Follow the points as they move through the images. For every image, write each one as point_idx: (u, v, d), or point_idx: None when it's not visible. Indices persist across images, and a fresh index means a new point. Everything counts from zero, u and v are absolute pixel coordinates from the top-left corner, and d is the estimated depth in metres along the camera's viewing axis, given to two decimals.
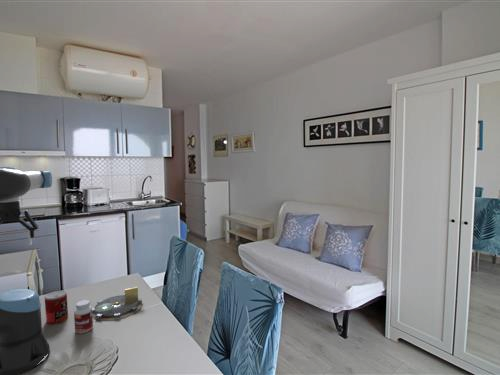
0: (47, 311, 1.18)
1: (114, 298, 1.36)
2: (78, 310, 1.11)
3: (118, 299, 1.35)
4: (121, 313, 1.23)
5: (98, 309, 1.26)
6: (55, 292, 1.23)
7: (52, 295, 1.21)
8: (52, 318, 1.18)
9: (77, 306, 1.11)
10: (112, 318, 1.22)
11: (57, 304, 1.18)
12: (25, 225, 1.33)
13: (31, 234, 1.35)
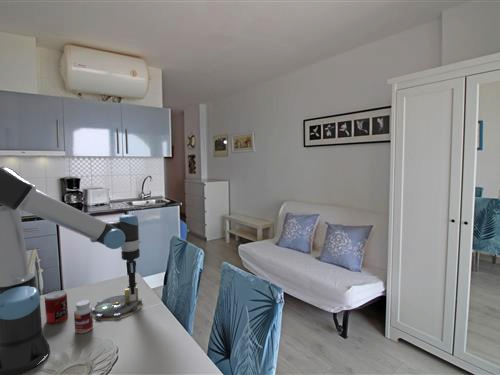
0: (47, 311, 1.18)
1: (114, 298, 1.36)
2: (78, 310, 1.11)
3: (118, 299, 1.35)
4: (121, 313, 1.23)
5: (98, 309, 1.26)
6: (55, 292, 1.23)
7: (52, 295, 1.21)
8: (52, 318, 1.18)
9: (77, 306, 1.11)
10: (112, 318, 1.22)
11: (57, 304, 1.18)
12: None
13: (130, 290, 1.29)
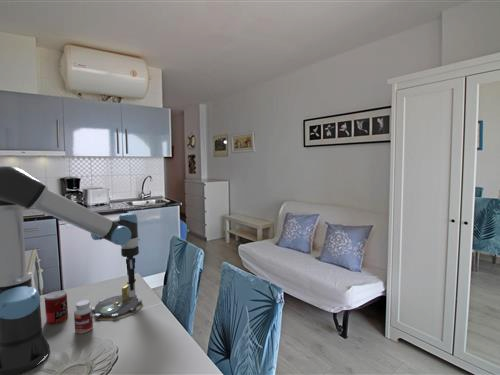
0: (47, 311, 1.18)
1: (105, 302, 1.32)
2: (78, 310, 1.11)
3: (111, 301, 1.33)
4: None
5: (106, 311, 1.23)
6: (55, 292, 1.23)
7: (52, 295, 1.21)
8: (52, 318, 1.18)
9: (77, 306, 1.11)
10: None
11: (57, 304, 1.18)
12: (128, 275, 1.33)
13: (130, 286, 1.34)
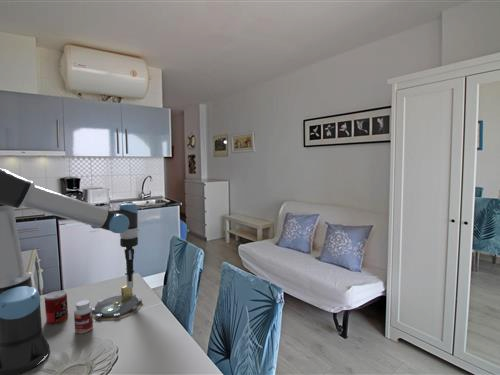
0: (47, 311, 1.18)
1: (104, 302, 1.32)
2: (78, 310, 1.11)
3: (110, 301, 1.33)
4: None
5: (107, 311, 1.23)
6: (55, 292, 1.23)
7: (52, 295, 1.21)
8: (52, 318, 1.18)
9: (77, 306, 1.11)
10: (112, 318, 1.22)
11: (57, 304, 1.18)
12: None
13: None
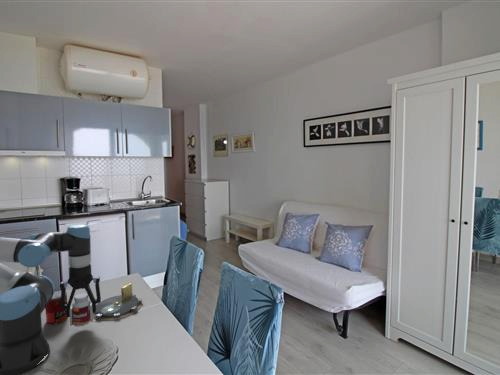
0: (47, 311, 1.18)
1: (104, 302, 1.32)
2: (76, 303, 1.11)
3: (110, 301, 1.33)
4: None
5: (107, 311, 1.23)
6: (55, 292, 1.23)
7: None
8: (52, 318, 1.18)
9: (75, 299, 1.11)
10: (112, 318, 1.22)
11: (57, 304, 1.18)
12: (90, 296, 1.13)
13: (93, 308, 1.14)
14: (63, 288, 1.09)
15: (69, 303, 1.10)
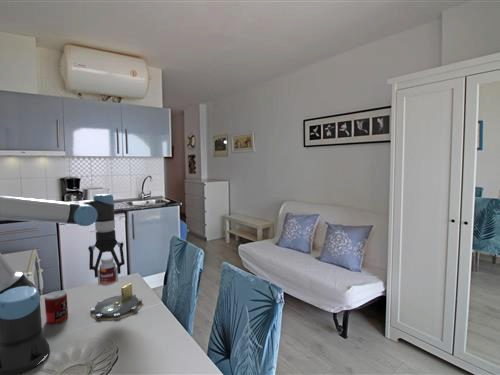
0: (47, 311, 1.18)
1: (104, 302, 1.32)
2: (103, 265, 1.22)
3: (110, 301, 1.33)
4: None
5: (107, 311, 1.23)
6: (55, 292, 1.23)
7: (52, 295, 1.21)
8: (52, 318, 1.18)
9: (102, 261, 1.22)
10: (112, 318, 1.22)
11: (57, 304, 1.18)
12: (115, 259, 1.24)
13: (118, 270, 1.26)
14: (91, 251, 1.20)
15: (97, 264, 1.21)
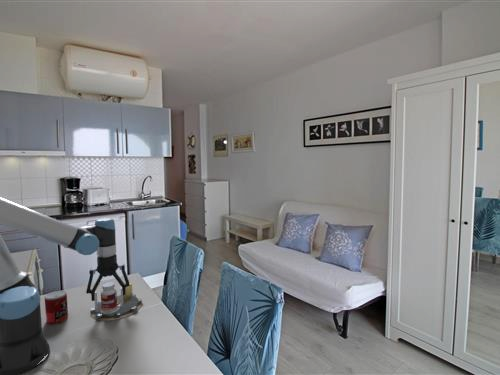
0: (47, 311, 1.18)
1: None
2: (104, 291, 1.23)
3: None
4: None
5: None
6: (55, 292, 1.23)
7: (52, 295, 1.21)
8: (52, 318, 1.18)
9: (104, 287, 1.23)
10: (112, 318, 1.22)
11: (57, 304, 1.18)
12: (119, 281, 1.26)
13: (123, 291, 1.27)
14: (92, 274, 1.21)
15: (94, 288, 1.22)
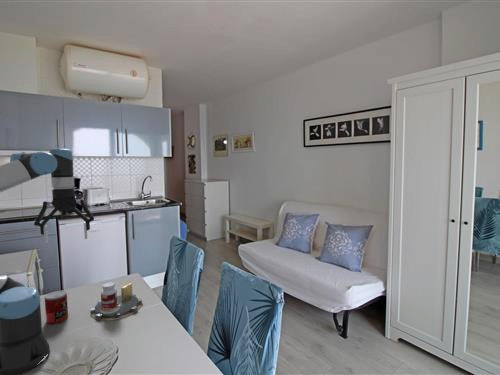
0: (47, 311, 1.18)
1: None
2: (104, 291, 1.23)
3: None
4: None
5: None
6: (55, 292, 1.23)
7: (52, 295, 1.21)
8: (52, 318, 1.18)
9: (104, 287, 1.23)
10: (112, 318, 1.22)
11: (57, 304, 1.18)
12: (81, 216, 1.17)
13: (87, 226, 1.19)
14: (45, 206, 1.11)
15: (45, 221, 1.12)
